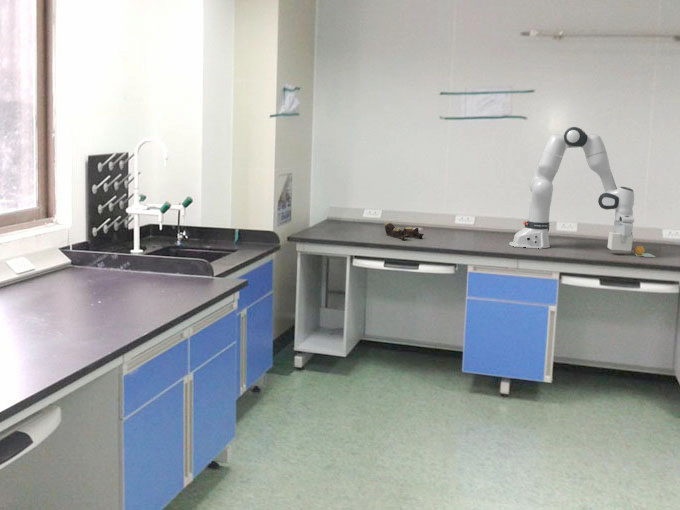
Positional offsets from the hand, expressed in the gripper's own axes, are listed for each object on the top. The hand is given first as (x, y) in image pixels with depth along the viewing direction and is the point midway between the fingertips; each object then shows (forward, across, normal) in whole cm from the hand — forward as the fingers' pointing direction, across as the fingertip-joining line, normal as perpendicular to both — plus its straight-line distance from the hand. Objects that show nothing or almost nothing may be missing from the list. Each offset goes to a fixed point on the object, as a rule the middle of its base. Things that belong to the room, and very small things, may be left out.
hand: (620, 242), depth 430 cm
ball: (+4, 0, +11) cm, 11 cm away
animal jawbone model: (+9, -34, -116) cm, 121 cm away
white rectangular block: (+4, 0, 0) cm, 4 cm away
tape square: (+6, 0, +13) cm, 14 cm away
